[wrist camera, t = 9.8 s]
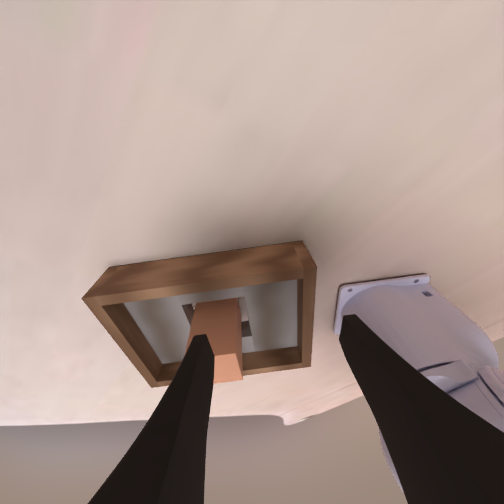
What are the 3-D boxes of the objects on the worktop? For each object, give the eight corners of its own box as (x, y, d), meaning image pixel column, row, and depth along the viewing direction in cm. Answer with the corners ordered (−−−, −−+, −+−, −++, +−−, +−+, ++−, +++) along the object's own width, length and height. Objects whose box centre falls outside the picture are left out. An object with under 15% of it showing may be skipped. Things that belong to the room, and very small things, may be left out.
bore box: (302, 240, 19) (316, 266, 16) (301, 335, 26) (310, 366, 23) (108, 267, 19) (81, 298, 16) (162, 353, 27) (151, 387, 23)
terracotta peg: (235, 290, 22) (235, 353, 16) (241, 315, 24) (242, 379, 18) (197, 295, 22) (183, 360, 16) (206, 320, 24) (197, 385, 18)
